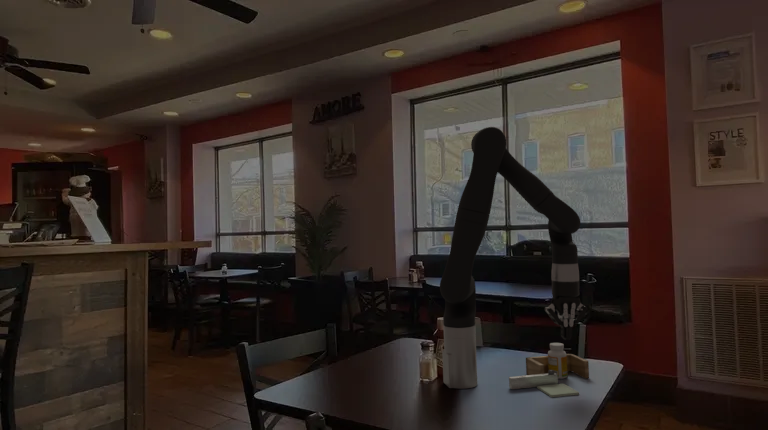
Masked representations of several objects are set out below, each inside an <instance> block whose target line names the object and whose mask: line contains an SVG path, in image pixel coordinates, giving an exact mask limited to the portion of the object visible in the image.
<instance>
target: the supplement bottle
mask: <svg viewBox="0 0 768 430" xmlns="http://www.w3.org/2000/svg"><path fill="white" fill-rule="evenodd" d="M564 346H565V345H564V343H561V342H550V343H549V349H550V350H548V352H547V356H548V368H549V370H554V373H556V374H557V375H558V380H561V379H566V378H568V371H567V354H568V353H566V351H565V350H564V349H565V347H564Z"/></svg>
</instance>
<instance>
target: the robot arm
mask: <svg viewBox="0 0 768 430" xmlns="http://www.w3.org/2000/svg"><path fill="white" fill-rule="evenodd" d="M470 142H471V143H470V146H471V151H472V153H473V157H472V162H471V163H472V164H471V168H470V169H471V170H470V172H469V173H470V174H469V176H468V179H467V182H466V184H465V186H464V189H463V190H462V191H463V192H462V193H461V197H460V201H459V204H458V206H457V210H456V215H455V220H454V225H453V232H452V236H451V244H450V249H449V250H450V251H449V254H448V257H447V261H446V264H445V268H444V271H443V273H442V275H441V279H440V283H439V291H440V295H441V296H442V298H443V299H444V302H445V303H444V304H445V305H444V306H445V308H444V312H443V318H442V323H443V347H444V349H442V350H441V351H442V353H441V354H442V379H443V384H445V385H446V387H448V389H459V390H460V389H472V388H475V387H476V386H478V365H477V364H478V362H477V340H476V339H477V338H476V336H477V333H476V313H477V301H476V300H477V297H476V296H477V293H476V282H475V279H474V277H473V275H472V274H473V268H474V265H475V264H474V262H475V259H476V256H477V253H478V251H479V249H480V247H481V245H482V242H483V239H484V236H485V233H486V231H487V227H488V224H489V219H490V214H491V210H492V204H493V198H494V192H495V186H496V185H495V184H496V180H497V179H496V178H497V175H498V174H499V175H501V177H503V179H505V180H506V181H507V182H508V183H509V185H510V186H511V187H512V188H513V189H515V191H516V192H517V193H518V194H519V195H520V197H521V198H523V200H525V202H527V203H528V205H529V206H530V207H531V208H532V209H533V210H534V211H535V212H537V213H538V214H542V216H544V217H545V218H547V219H548V222H547V230H548V236H549V240H550V244H551V260H552V261H551V262H552V264H551V277H550V278H551V295H552V298H551V304H550V305H548V306H545V307H544V311H545V313H546V314H547V315H548V317H549V318H550V320H551V321H552V322H553V323H554V324H556V325H558V326H560V337H561V338H562V339H563V340H564V341H568V340H569V341H571V340H572V338H573V326H575V325H578V324H579V323H580V321H582V319H583V318H584V316H585V314H586V313H587V311H588V310H589V309H588V306H585V305H584V304H582V302H581V298H580V271H579V269H580V268H579V259H578V257H579V256H578V255H579V254H578V247H577V245H576V244H575V243H574V240H573V234H575V233H577V232H578V231H579V229H580V228H581V219H580V216H579V215H578V213H577V212H576V210H575V209H574V208H572V206H570V205H568V204H567V203H566V202H564V201H563V200H562V199H561V198H559V197H558V196H556V195H555V194H554V192H553V191H552V190H551V189H550V188H549V187H548V186H547V184H545V183H544V181H542V180H541V179H540V178H539V177H537V176H536V175H535V174H534V173H533V172H531V171H530V170H529V169H528V168H526V167H525V166H523V164H521V163H520V162H519V161H518V160H517V159H516V158H515V157H514V156H513V155H512V154H511V153H510V152H509V150H508V148H507V138H506V135H505V133H504V132H503V130H501V129H500V128H498V127H495V126H487V127H484V128H481V130H479V131H477V132H476V133H475V134H474V135H473V136H472V139H471V141H470ZM556 312H557V314H556Z"/></svg>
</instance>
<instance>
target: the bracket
mask: <svg viewBox="0 0 768 430" xmlns="http://www.w3.org/2000/svg"><path fill="white" fill-rule="evenodd" d="M566 354H567V372H572V373H573V374H576V375H578V376H580V377H582V378H583V379H589V378H590V368H589V364H590V363H589V360H587V359H585V358H582V357H581V356H578V355H575V354H573V353H566ZM525 368H526V369H525V371H526V372H525V373H526V375H536V374H547V373H548V370H549V368H548V355H544V356H543V355H540V356H528V357H525Z"/></svg>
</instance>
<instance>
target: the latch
mask: <svg viewBox="0 0 768 430" xmlns="http://www.w3.org/2000/svg"><path fill="white" fill-rule="evenodd" d="M508 382H509V383H508V384H509V385H508V386H509V389H511V390H519V389H528V388H529V389H531V388H537V386H544V385H554V384H559V379H558V375H557V374H556V373H554V370H548V373H545V374H536V375H527V374H526V375H517V376H508Z"/></svg>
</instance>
